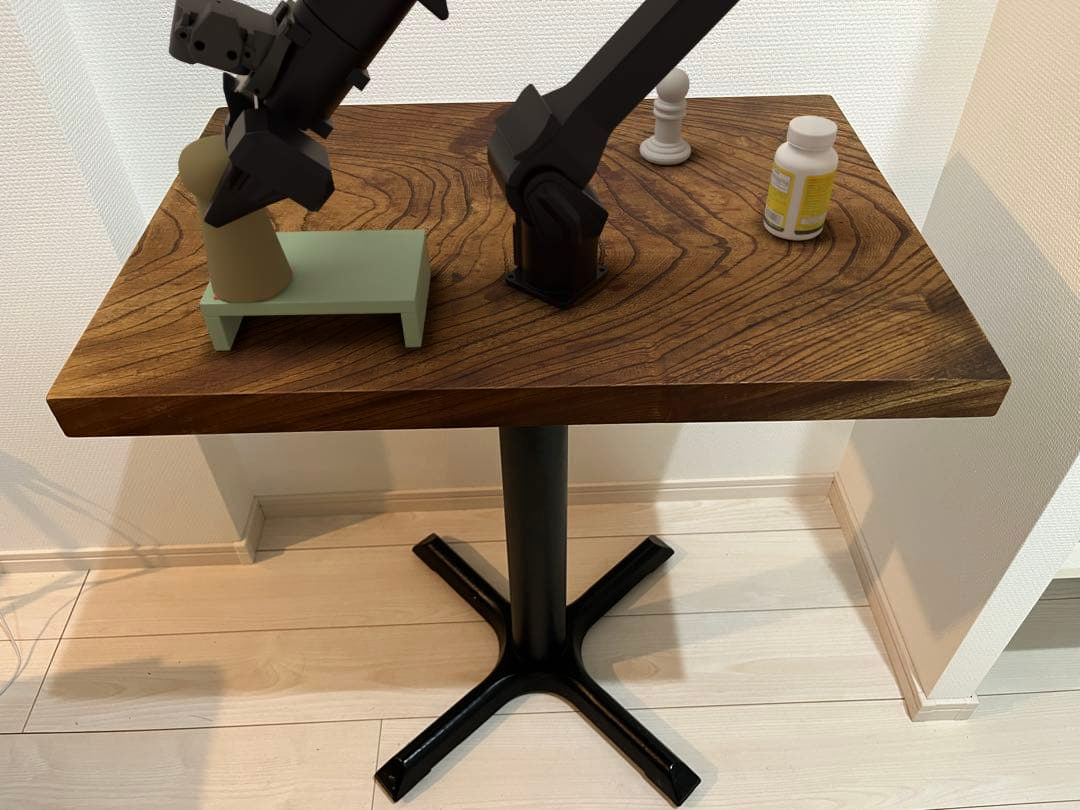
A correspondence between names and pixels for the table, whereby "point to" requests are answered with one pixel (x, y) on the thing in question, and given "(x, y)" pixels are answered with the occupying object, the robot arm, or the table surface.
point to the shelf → (339, 281)
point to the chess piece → (668, 122)
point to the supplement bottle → (802, 179)
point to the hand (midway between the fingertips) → (210, 205)
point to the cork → (233, 232)
